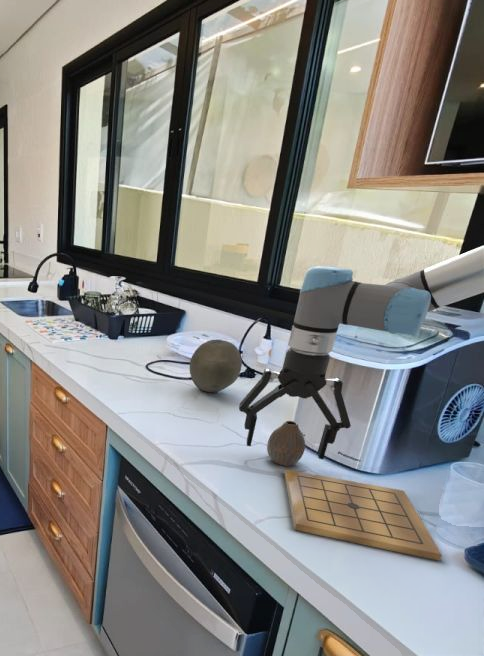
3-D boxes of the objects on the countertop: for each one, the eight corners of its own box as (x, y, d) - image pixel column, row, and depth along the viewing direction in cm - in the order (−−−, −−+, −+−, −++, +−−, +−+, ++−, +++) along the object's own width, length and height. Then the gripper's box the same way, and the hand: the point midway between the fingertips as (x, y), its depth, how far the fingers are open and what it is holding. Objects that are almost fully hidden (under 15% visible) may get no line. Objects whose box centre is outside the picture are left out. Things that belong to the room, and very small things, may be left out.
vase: (267, 466, 102) (276, 427, 99) (261, 452, 109) (269, 414, 105) (304, 471, 101) (314, 431, 98) (295, 456, 107) (305, 418, 104)
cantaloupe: (175, 390, 145) (183, 339, 139) (202, 380, 153) (210, 332, 148) (220, 404, 135) (230, 350, 129) (246, 393, 143) (256, 342, 138)
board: (402, 496, 93) (404, 490, 93) (439, 561, 76) (442, 554, 75) (284, 474, 100) (285, 468, 99) (294, 529, 82) (295, 523, 82)
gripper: (239, 346, 97) (219, 445, 105) (389, 365, 89) (355, 470, 97) (239, 338, 103) (220, 431, 111) (379, 354, 95) (348, 453, 103)
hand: (283, 449), depth 104 cm, fingers open, 13 cm apart
